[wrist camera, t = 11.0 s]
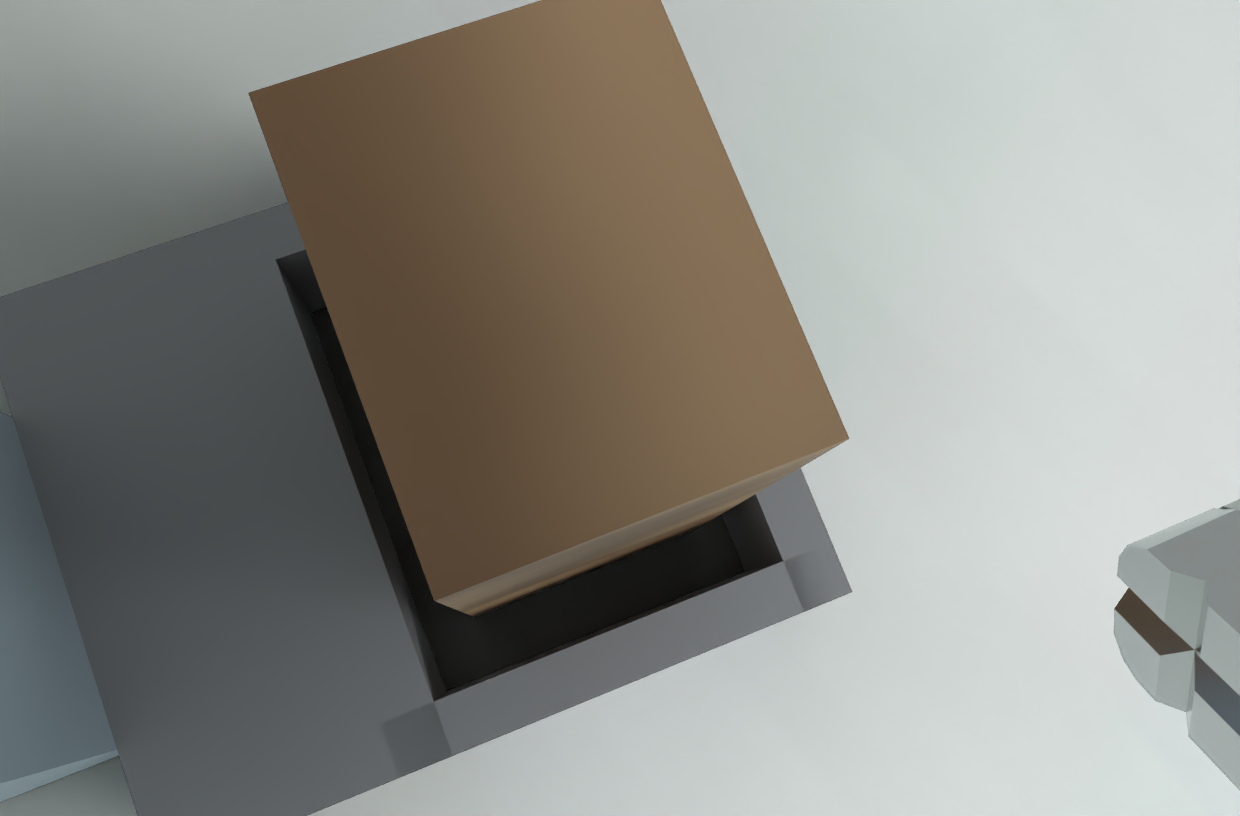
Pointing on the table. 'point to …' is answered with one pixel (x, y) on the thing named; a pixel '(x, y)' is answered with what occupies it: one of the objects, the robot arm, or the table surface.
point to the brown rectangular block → (546, 292)
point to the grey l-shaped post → (260, 552)
